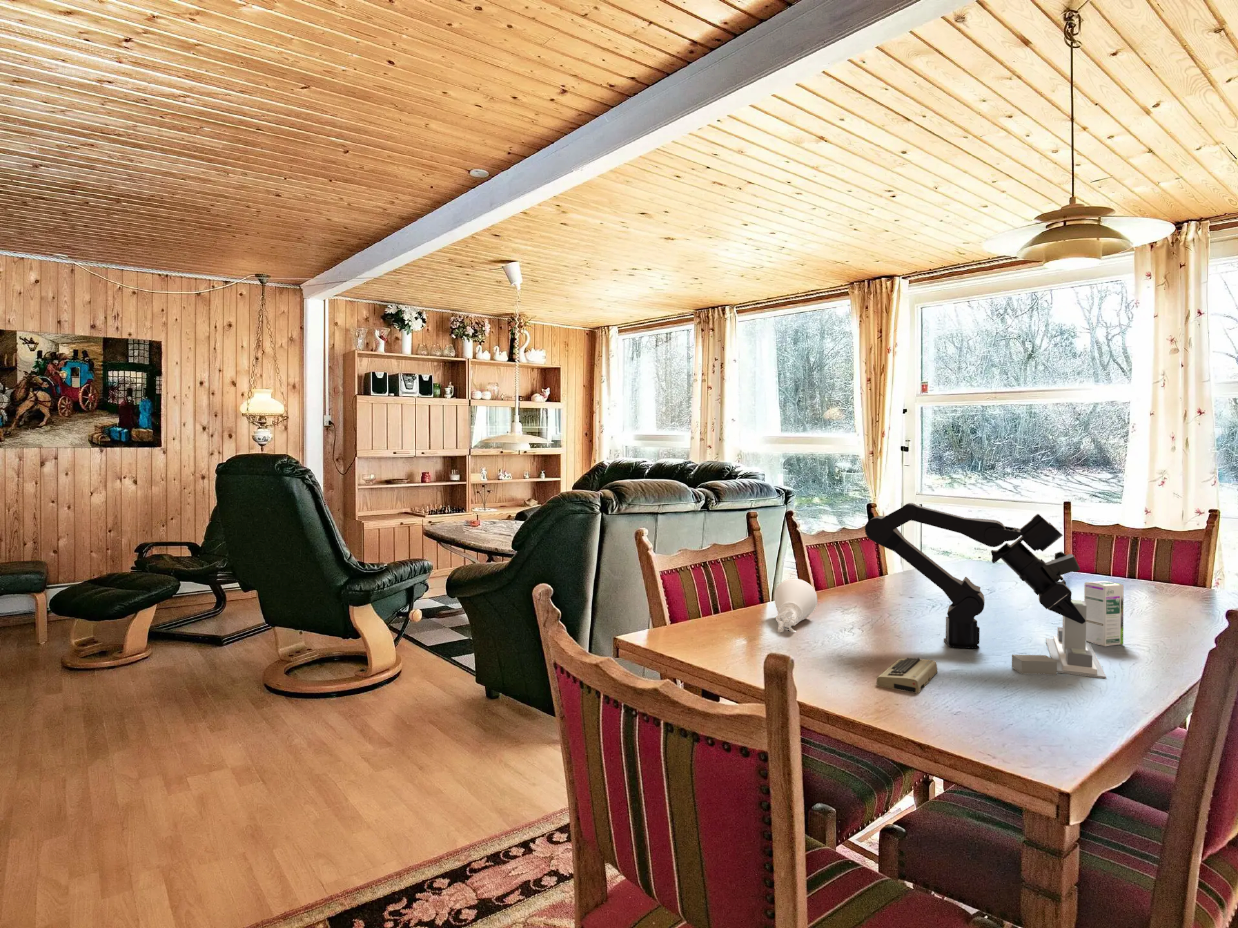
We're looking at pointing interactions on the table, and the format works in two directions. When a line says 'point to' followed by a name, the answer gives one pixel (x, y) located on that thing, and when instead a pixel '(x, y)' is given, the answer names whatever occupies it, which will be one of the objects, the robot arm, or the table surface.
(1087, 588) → the syrup box
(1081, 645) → the panel
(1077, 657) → the module near
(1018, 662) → the block
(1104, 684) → the table surface
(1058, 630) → the module far
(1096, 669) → the rail
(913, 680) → the computer
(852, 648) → the table surface
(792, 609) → the rocket engine
